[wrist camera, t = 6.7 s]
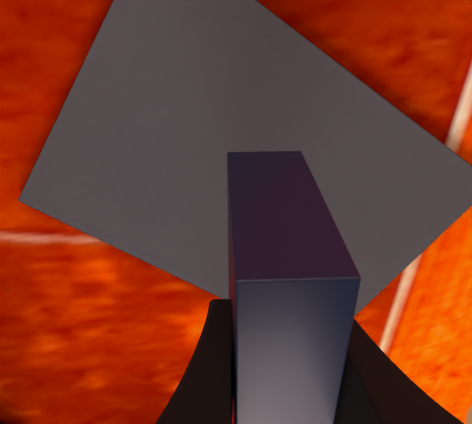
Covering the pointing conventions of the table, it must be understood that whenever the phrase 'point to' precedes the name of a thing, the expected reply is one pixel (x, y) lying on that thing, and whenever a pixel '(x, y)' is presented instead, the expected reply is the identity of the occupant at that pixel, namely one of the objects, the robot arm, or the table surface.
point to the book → (286, 292)
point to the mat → (234, 142)
